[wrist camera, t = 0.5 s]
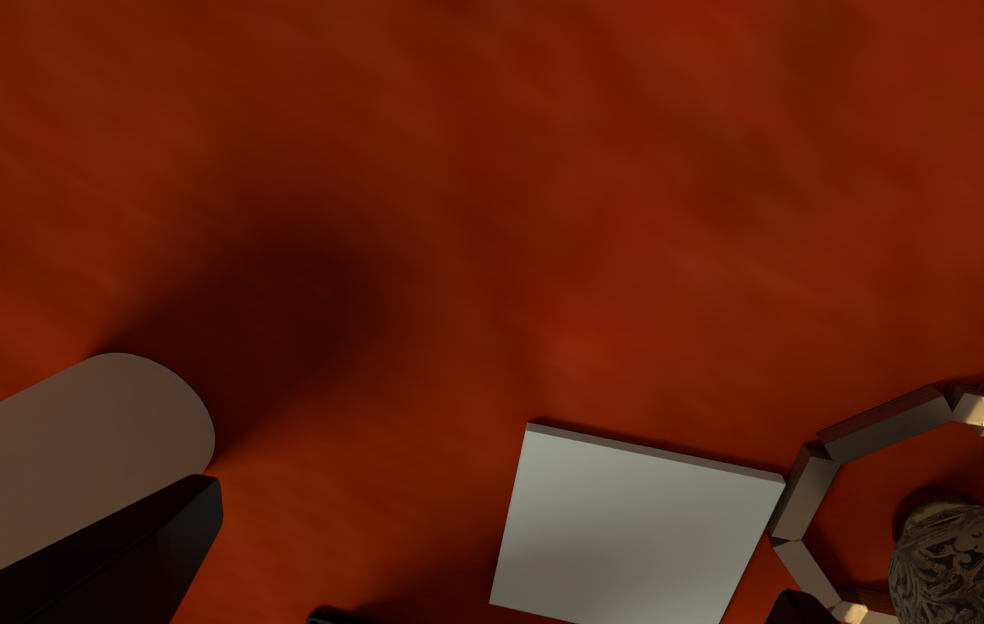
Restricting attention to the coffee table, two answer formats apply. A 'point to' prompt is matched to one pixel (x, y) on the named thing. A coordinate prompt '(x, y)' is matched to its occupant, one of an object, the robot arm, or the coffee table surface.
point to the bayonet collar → (818, 466)
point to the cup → (938, 559)
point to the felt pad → (627, 531)
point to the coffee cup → (94, 447)
